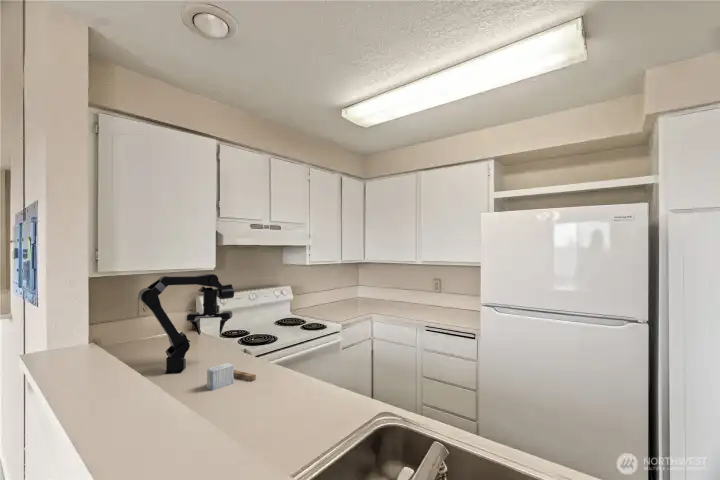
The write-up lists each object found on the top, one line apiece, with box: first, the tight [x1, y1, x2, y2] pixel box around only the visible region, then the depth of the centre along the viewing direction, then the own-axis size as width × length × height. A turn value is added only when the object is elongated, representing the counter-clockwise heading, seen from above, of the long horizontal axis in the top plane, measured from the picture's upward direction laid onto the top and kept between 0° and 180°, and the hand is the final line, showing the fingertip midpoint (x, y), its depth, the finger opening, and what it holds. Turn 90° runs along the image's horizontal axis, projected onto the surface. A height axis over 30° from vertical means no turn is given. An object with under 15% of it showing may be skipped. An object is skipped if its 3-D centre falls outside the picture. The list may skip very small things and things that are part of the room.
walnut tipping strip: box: [233, 369, 257, 382], centre depth 135 cm, size 12×2×2 cm, turn 65°
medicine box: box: [206, 362, 235, 391], centre depth 128 cm, size 8×4×9 cm
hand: (210, 334), depth 154 cm, fingers open, 9 cm apart
